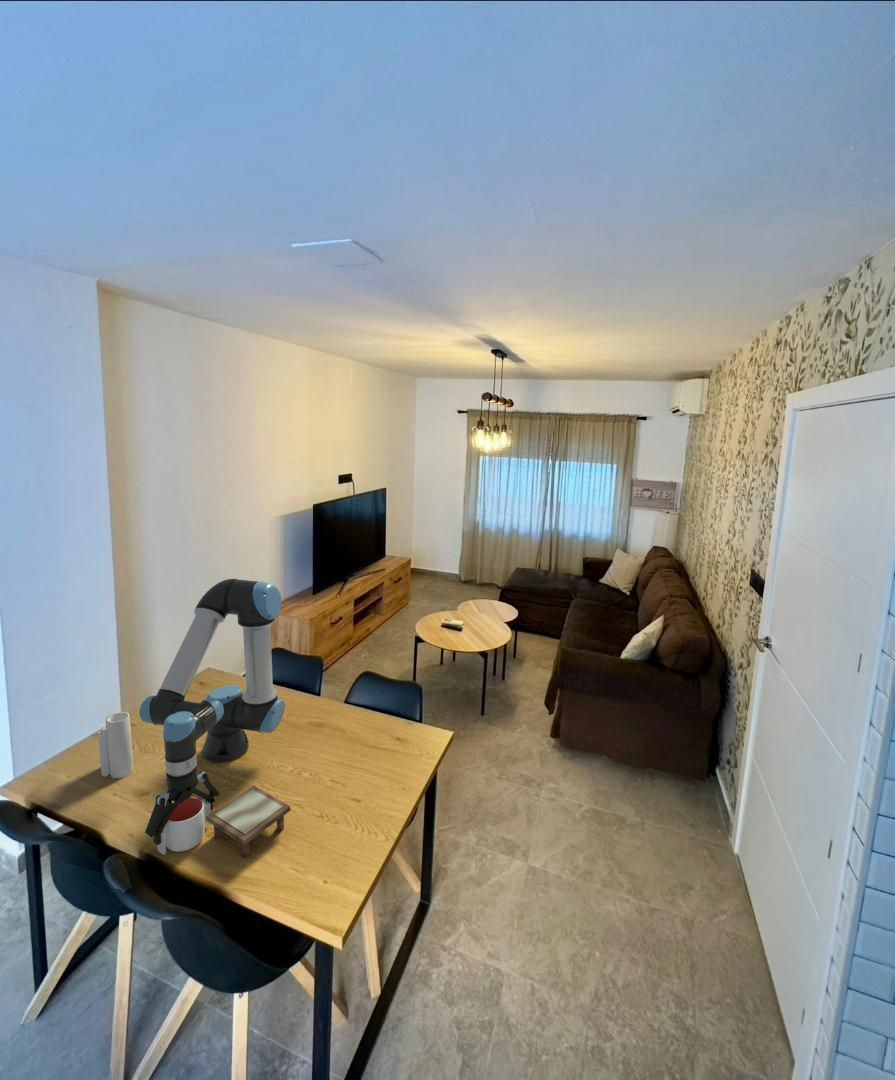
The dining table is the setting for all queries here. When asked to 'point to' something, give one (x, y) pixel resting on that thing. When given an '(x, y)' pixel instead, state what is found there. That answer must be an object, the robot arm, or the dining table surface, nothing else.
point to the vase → (116, 746)
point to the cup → (185, 825)
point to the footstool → (248, 816)
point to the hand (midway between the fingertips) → (185, 836)
